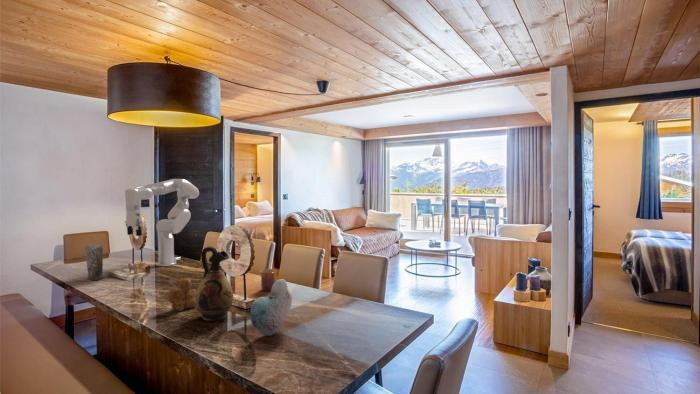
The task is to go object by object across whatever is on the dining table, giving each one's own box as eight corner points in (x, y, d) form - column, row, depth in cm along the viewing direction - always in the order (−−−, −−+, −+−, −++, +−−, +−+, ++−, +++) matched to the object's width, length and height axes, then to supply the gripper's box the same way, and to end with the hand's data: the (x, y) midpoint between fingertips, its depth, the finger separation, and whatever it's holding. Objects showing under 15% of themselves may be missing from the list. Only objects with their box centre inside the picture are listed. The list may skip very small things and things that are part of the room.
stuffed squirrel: (202, 304, 170) (202, 276, 170) (181, 314, 157) (180, 284, 156) (185, 302, 173) (184, 275, 172) (162, 312, 159) (161, 282, 159)
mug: (272, 292, 188) (272, 273, 187) (256, 291, 189) (256, 272, 189) (281, 286, 199) (281, 267, 199) (266, 285, 201) (266, 267, 201)
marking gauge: (142, 271, 224) (141, 261, 224) (145, 272, 222) (145, 262, 222) (126, 274, 216) (126, 264, 216) (130, 275, 214) (129, 265, 214)
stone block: (84, 278, 216) (83, 244, 215) (97, 275, 221) (97, 243, 220) (92, 281, 208) (91, 247, 207) (106, 279, 213) (105, 245, 213)
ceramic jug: (240, 312, 160) (239, 245, 159) (220, 325, 145) (219, 251, 144) (206, 308, 164) (205, 243, 162) (183, 321, 149) (182, 249, 147)
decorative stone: (262, 347, 125) (261, 290, 125) (243, 341, 130) (242, 287, 129) (298, 326, 144) (298, 277, 143) (280, 322, 148) (280, 274, 147)
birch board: (127, 271, 232) (127, 268, 232) (146, 276, 220) (146, 272, 220) (109, 275, 222) (108, 271, 222) (126, 280, 211) (126, 276, 210)
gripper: (146, 208, 226) (148, 235, 227) (131, 207, 234) (132, 233, 236) (134, 209, 219) (136, 237, 221) (119, 208, 228) (120, 234, 229)
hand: (134, 235), depth 228 cm, fingers open, 9 cm apart
